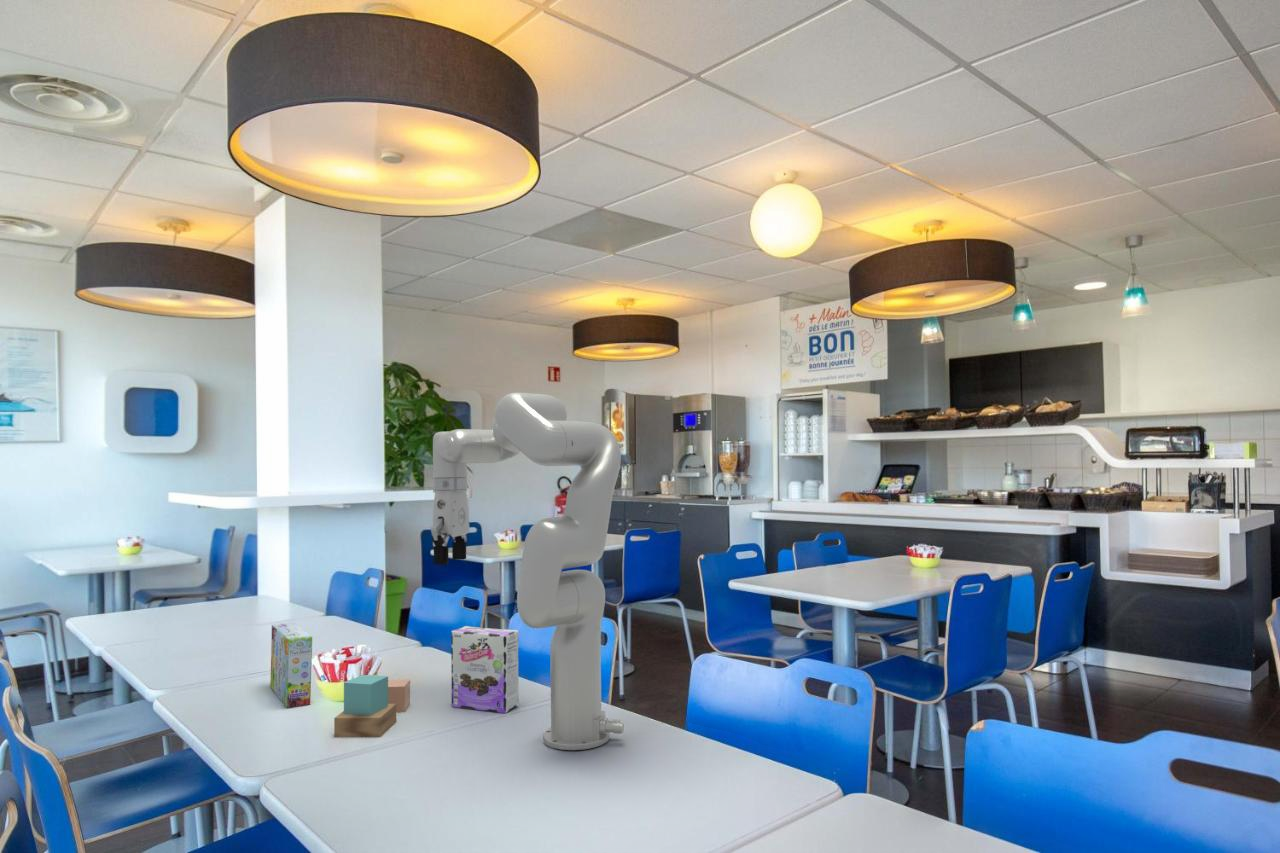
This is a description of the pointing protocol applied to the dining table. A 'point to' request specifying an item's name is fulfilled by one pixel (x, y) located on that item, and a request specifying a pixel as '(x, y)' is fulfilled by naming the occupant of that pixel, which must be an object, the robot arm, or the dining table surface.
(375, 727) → the walnut block
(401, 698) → the terracotta cube
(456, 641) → the candy box
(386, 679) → the teal cube
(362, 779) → the dining table surface
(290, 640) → the snack box
